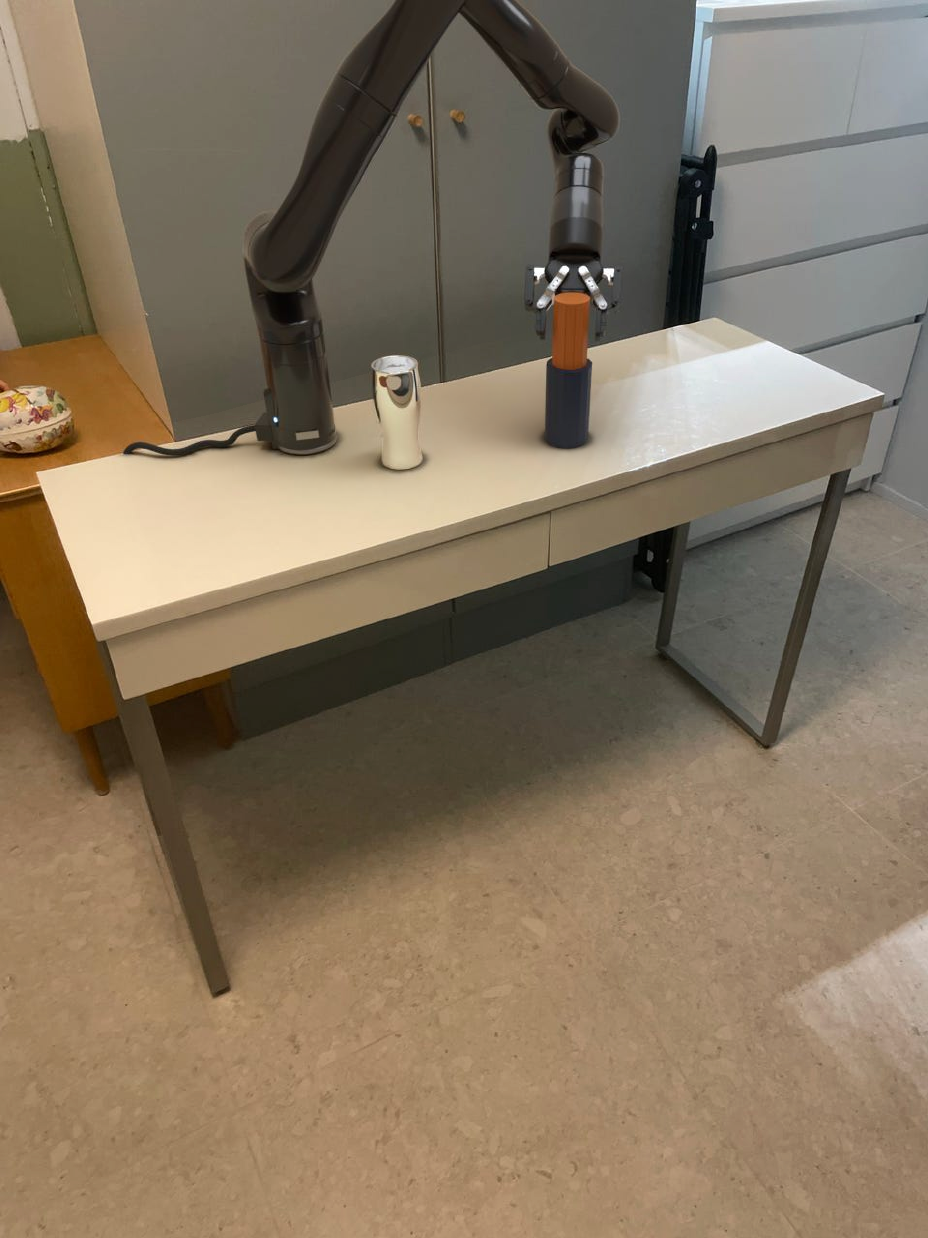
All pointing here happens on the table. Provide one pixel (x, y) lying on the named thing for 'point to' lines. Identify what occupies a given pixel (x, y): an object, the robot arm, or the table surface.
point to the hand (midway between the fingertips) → (570, 337)
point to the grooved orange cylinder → (570, 330)
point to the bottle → (567, 405)
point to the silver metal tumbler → (398, 409)
